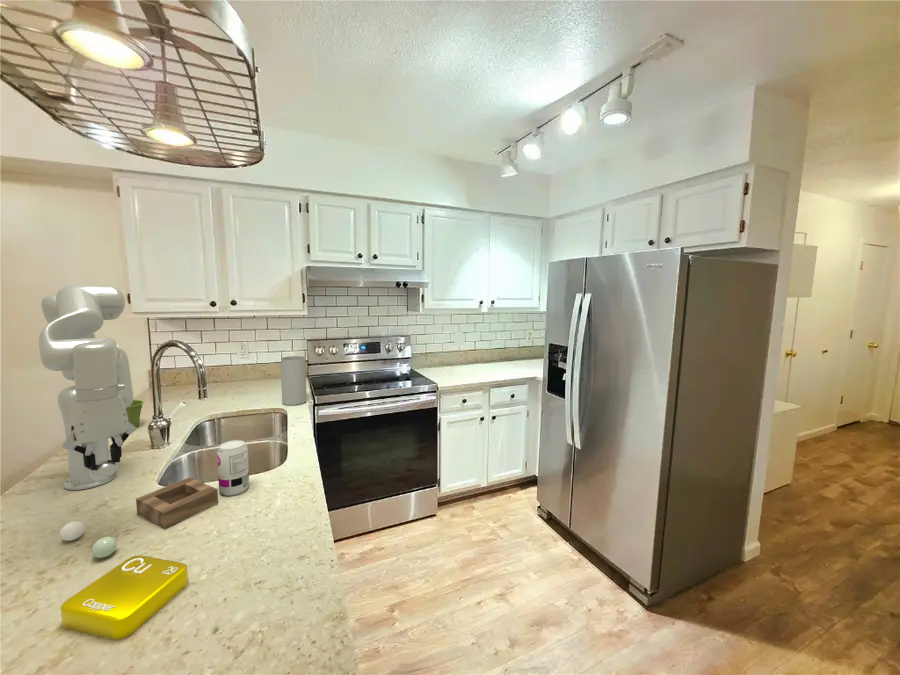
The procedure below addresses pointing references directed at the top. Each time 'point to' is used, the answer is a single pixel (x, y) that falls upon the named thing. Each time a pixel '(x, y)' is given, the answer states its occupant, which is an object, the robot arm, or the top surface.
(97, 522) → the top surface
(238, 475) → the supplement can
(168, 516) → the frame
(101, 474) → the steel ball
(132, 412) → the plant pot
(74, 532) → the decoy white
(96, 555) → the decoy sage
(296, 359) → the cylinder vase
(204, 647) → the top surface
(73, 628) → the element tile
